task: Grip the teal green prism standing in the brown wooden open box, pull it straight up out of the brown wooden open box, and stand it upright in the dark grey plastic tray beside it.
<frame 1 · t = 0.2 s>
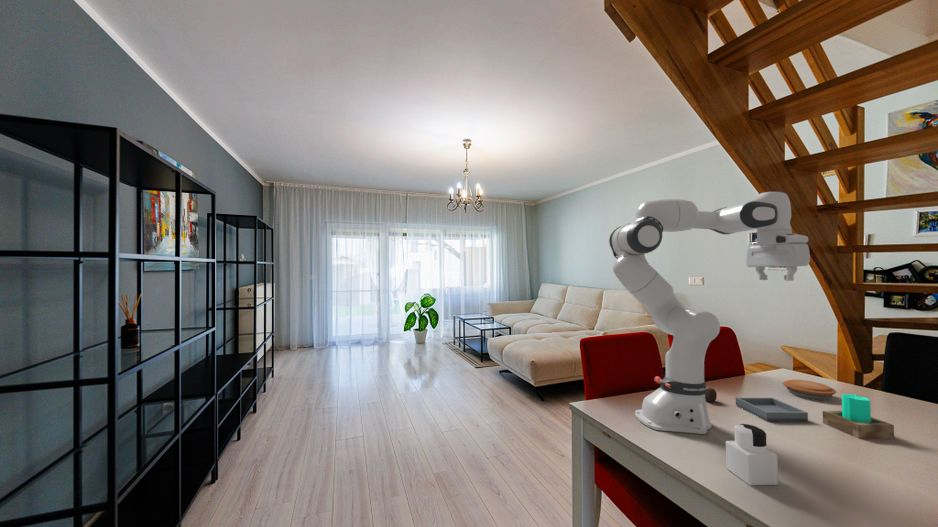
hand: (775, 280, 115), 47 cm above the table, tool pointing down, fingers open, 8 cm apart
pie: (808, 396, 138), on the table
dark brown oblong piece: (693, 396, 138), on the table
brown wooden open box: (856, 430, 107), on the table
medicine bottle: (751, 477, 83), on the table
teal green prism: (856, 431, 107), resting in brown wooden open box
tray: (769, 413, 120), on the table
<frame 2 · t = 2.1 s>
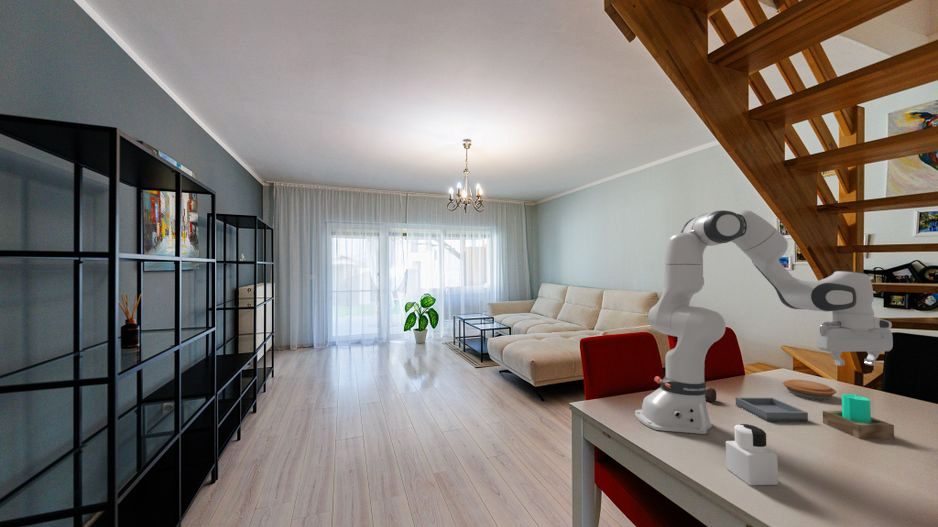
hand: (854, 365, 108), 21 cm above the table, tool pointing down, fingers open, 8 cm apart
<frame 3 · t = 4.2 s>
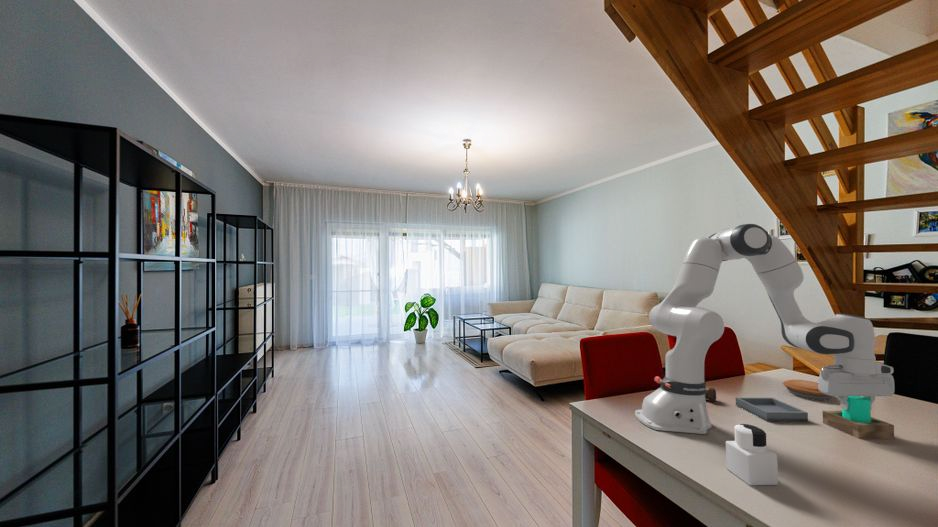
hand: (856, 409, 107), 7 cm above the table, tool pointing down, fingers closed on teal green prism, 5 cm apart
teal green prism: (856, 431, 107), resting in brown wooden open box, touching gripper
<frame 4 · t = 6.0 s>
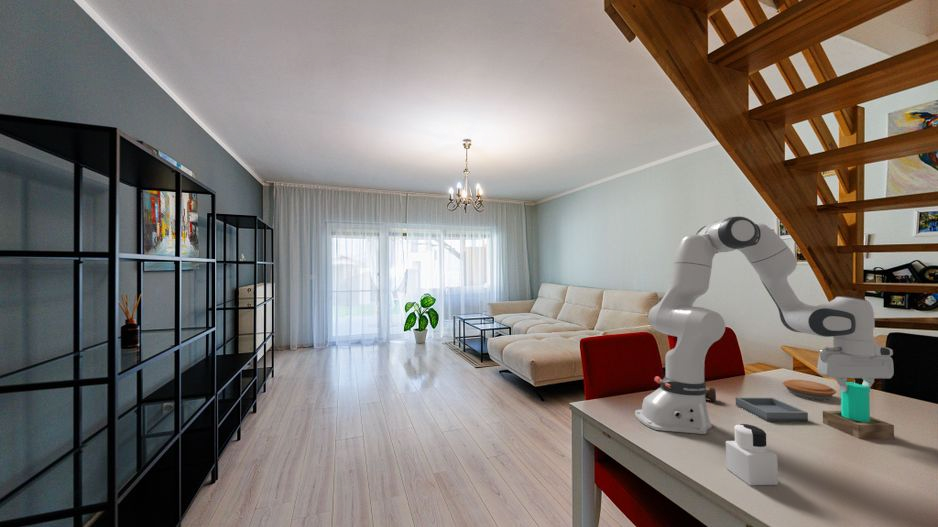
hand: (854, 391, 107), 12 cm above the table, tool pointing down, fingers closed on teal green prism, 5 cm apart
teal green prism: (855, 418, 107), point 4 cm above the table, touching gripper
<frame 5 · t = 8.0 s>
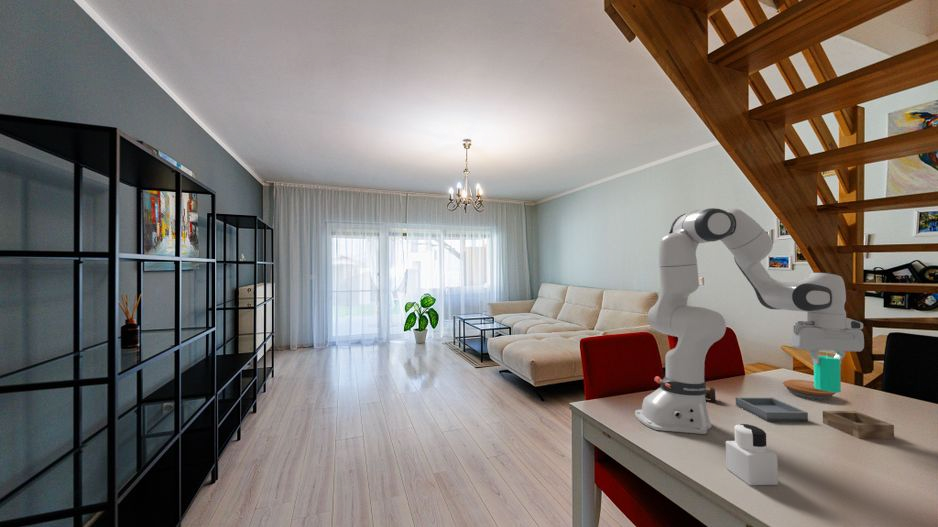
hand: (826, 363, 111), 20 cm above the table, tool pointing down, fingers closed on teal green prism, 5 cm apart
teal green prism: (827, 390, 111), point 11 cm above the table, touching gripper
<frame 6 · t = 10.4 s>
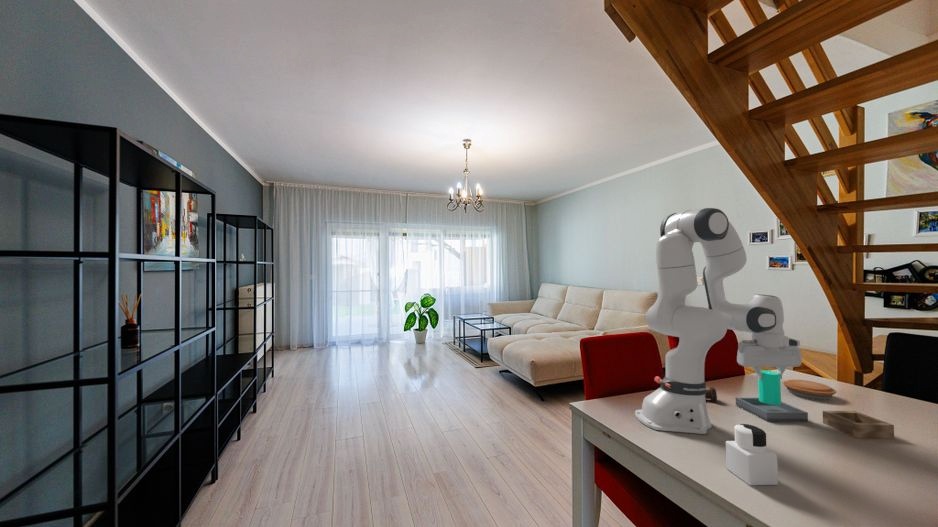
hand: (769, 378, 121), 12 cm above the table, tool pointing down, fingers closed on teal green prism, 5 cm apart
teal green prism: (769, 402, 121), point 4 cm above the table, touching gripper
when the fingers open (9 cm above the table, at t = 11.8 s): teal green prism stays where it is, resting on tray.
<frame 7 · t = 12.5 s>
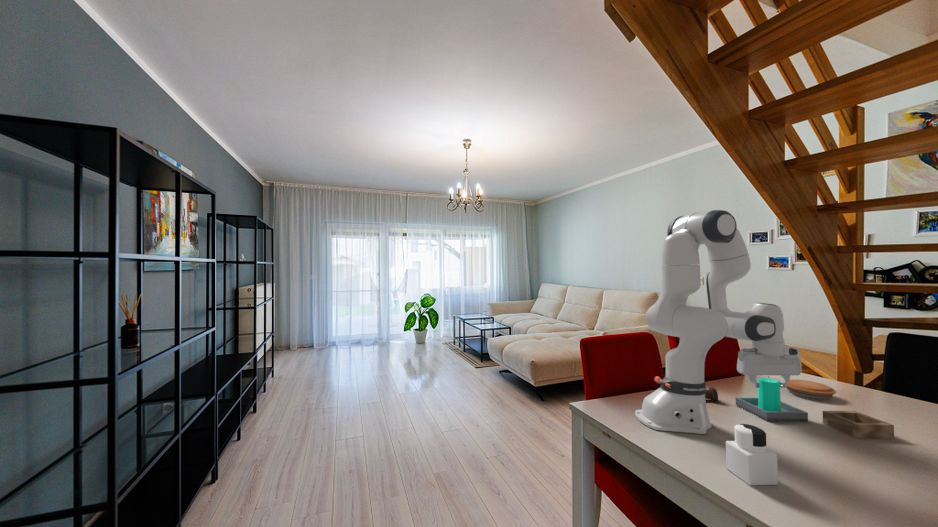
hand: (769, 387, 121), 9 cm above the table, tool pointing down, fingers open, 8 cm apart
teal green prism: (769, 410, 120), point 1 cm above the table, touching tray
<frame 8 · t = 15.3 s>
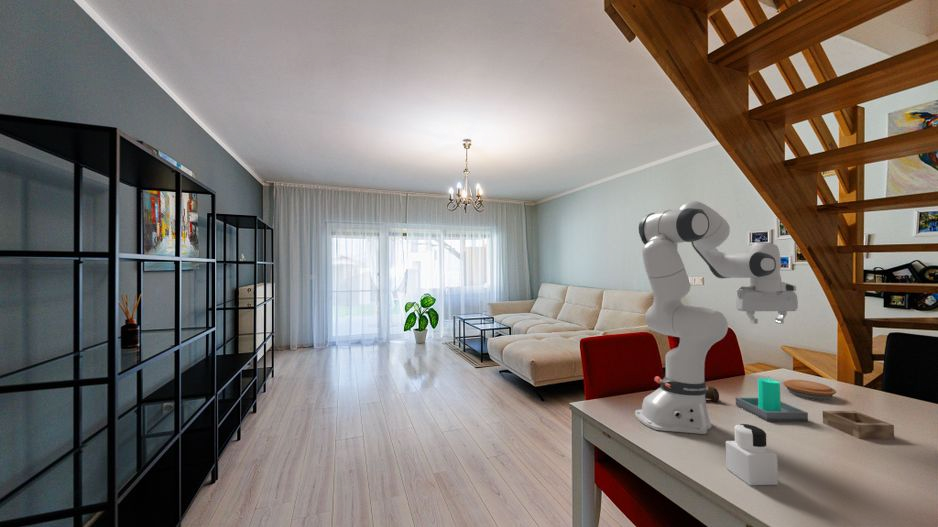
hand: (766, 323, 126), 31 cm above the table, tool pointing down, fingers open, 8 cm apart
at the end: teal green prism inside the target area on the tray (0.1 cm from its centre), point 0.8 cm above the tray's base; teal green prism tilted 0°; the gripper is holding nothing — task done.
